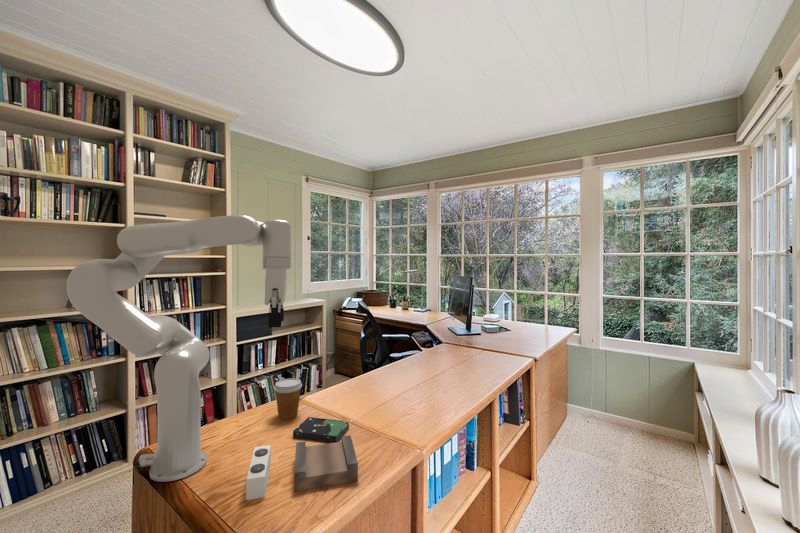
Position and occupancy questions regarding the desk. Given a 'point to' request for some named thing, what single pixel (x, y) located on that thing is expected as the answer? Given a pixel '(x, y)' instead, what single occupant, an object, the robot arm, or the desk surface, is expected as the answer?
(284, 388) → the disposable coffee cup
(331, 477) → the display stand
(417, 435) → the desk surface
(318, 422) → the disk drive
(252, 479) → the white rectangular block
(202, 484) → the desk surface
